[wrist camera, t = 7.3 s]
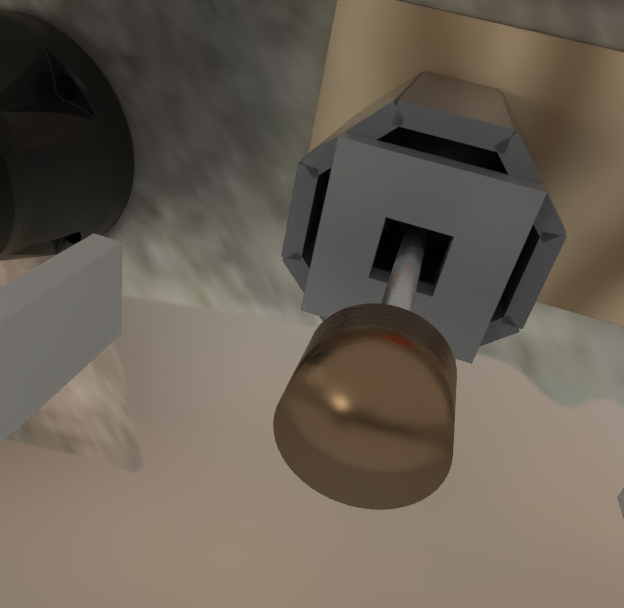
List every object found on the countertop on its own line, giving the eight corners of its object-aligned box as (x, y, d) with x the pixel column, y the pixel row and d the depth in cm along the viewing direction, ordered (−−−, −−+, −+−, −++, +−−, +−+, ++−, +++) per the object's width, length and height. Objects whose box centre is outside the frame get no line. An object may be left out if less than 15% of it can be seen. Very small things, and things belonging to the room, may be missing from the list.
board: (299, 223, 34) (293, 229, 33) (345, -12, 27) (339, -13, 26) (658, 328, 31) (664, 338, 30) (807, 94, 24) (822, 97, 23)
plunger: (353, 224, 29) (193, 495, 13) (384, 100, 26) (223, 248, 9) (471, 258, 29) (466, 597, 12) (519, 134, 25) (607, 364, 9)
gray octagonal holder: (322, 261, 33) (255, 370, 23) (369, 57, 27) (306, 81, 17) (475, 307, 32) (475, 443, 22) (559, 103, 26) (614, 160, 16)
